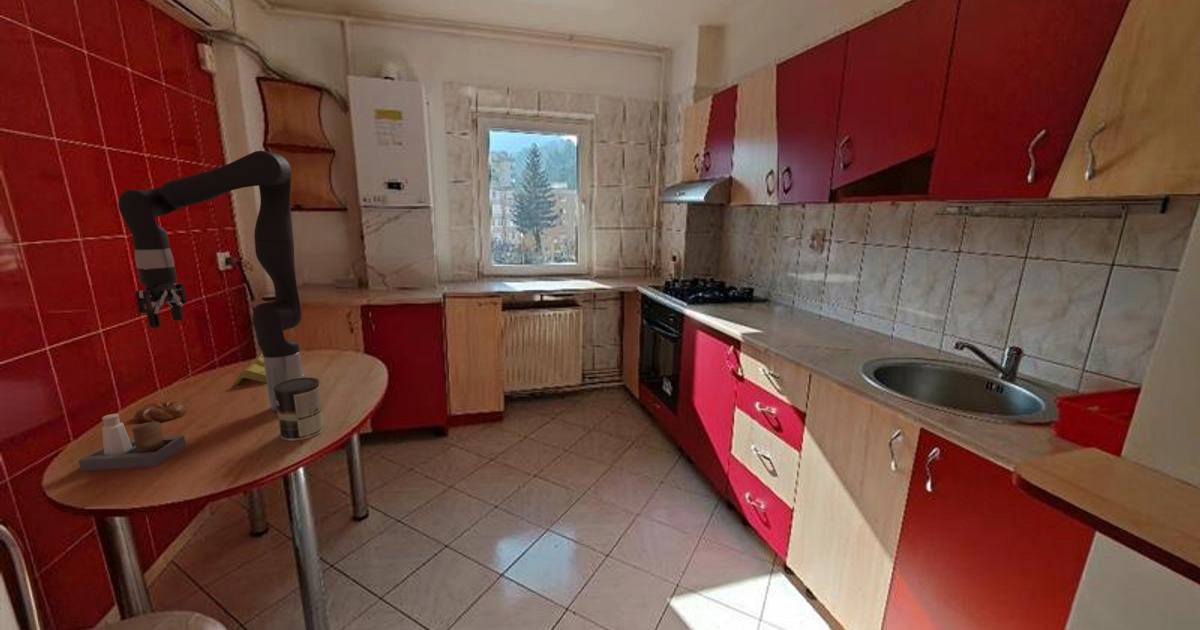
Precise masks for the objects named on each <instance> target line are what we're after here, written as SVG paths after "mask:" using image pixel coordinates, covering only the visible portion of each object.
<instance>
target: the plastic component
mask: <svg viewBox="0 0 1200 630" xmlns="http://www.w3.org/2000/svg"><path fill="white" fill-rule="evenodd" d="M244 379H248V380H251V381H256V382H259V383H264V384H265V383H266V384H267V379H266V373H265V366H264V360H263V353H262V350H261V351H260V352H259V353H258V354H257V355H256V357H255V358H254V359H253V361H252V362H251V364H250V365H249V366H248V367H247V368H245V369H243V370H242V371H241V372H240V373H239V374H238V376H237V378H236V379H235V381H234V383H233V385H236V386H238V385H240V384H241V383H242V382H243V380H244Z"/></svg>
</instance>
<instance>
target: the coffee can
mask: <svg viewBox="0 0 1200 630" xmlns="http://www.w3.org/2000/svg"><path fill="white" fill-rule="evenodd" d="M273 390H274V392H275V399H276V406H277V412H276V413H277V417H278V419H277V420H278V427H279V432H280V438H281V439H282V440H283V441H288V442H296V441H303V440H308V439H310V438H314V437H315V436H318V435H319V434H321V433H322V432H323V431H324V430H325V424H324V416H323V409H322V402H321V401H322V400H321V393H320V381H319V379H318V378H315V377H306V378H296V379H291V380H287V381H283V382H281V383H279V384H277V385H275V386H274V387H273Z"/></svg>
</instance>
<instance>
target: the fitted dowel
mask: <svg viewBox="0 0 1200 630" xmlns="http://www.w3.org/2000/svg"><path fill="white" fill-rule="evenodd" d="M131 430H132V434H133V435H132V436H133V438H134V440H135V444H136V449H137V453H145V452H156V451H158V450H159V449H161V448H162V447H164V446H165V445H164V440H163V437H164V436H163V432H162V427H161V422H148V423H139V424H137V425H135V426H133V427H132V429H131Z"/></svg>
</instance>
